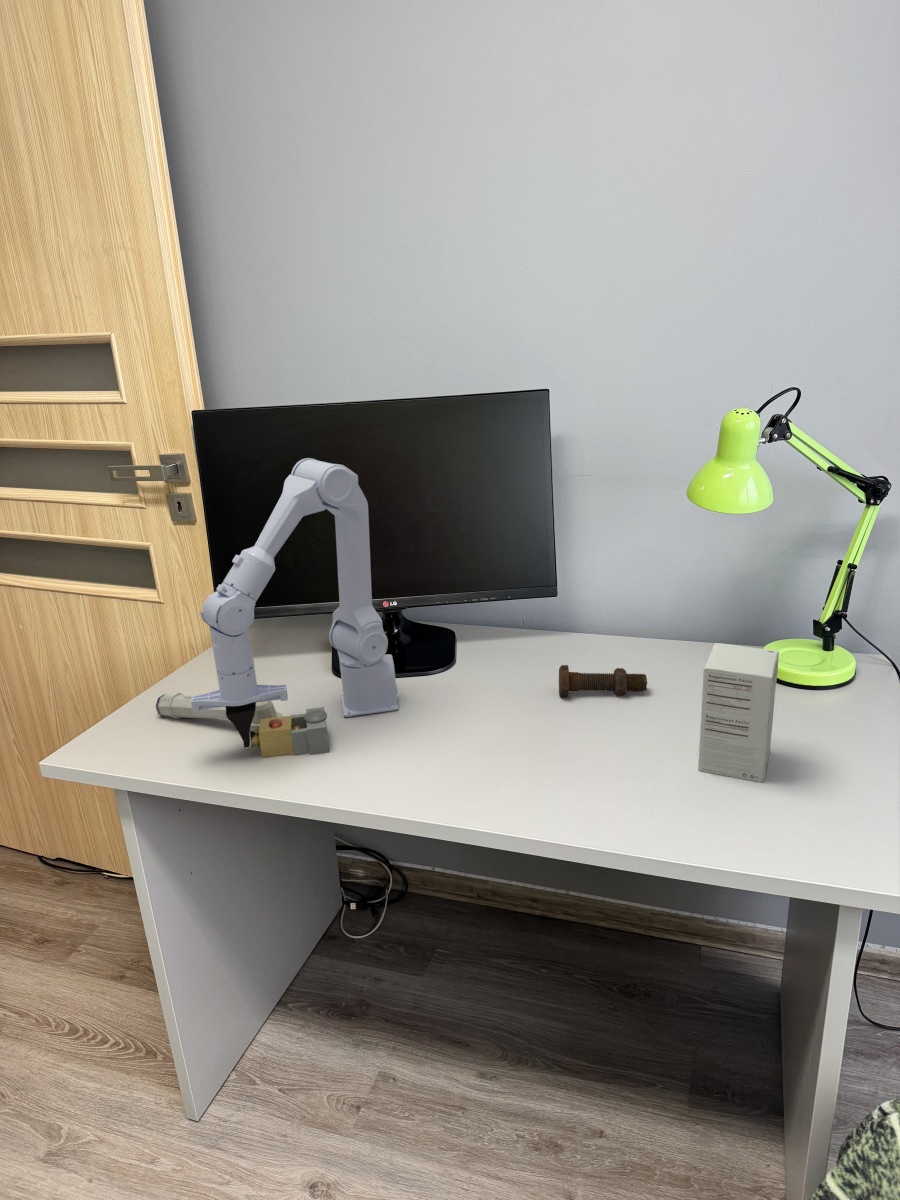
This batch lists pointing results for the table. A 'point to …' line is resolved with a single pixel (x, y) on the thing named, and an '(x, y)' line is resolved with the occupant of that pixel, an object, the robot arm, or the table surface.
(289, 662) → the table surface
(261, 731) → the valve
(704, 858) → the table surface
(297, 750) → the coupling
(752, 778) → the supplement box
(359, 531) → the robot arm
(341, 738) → the table surface
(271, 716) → the toothbrush head
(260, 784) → the table surface
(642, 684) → the bolt
